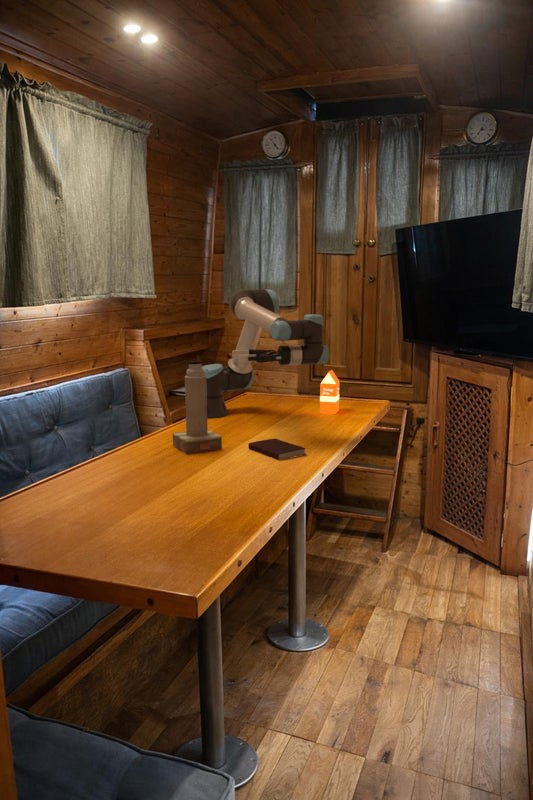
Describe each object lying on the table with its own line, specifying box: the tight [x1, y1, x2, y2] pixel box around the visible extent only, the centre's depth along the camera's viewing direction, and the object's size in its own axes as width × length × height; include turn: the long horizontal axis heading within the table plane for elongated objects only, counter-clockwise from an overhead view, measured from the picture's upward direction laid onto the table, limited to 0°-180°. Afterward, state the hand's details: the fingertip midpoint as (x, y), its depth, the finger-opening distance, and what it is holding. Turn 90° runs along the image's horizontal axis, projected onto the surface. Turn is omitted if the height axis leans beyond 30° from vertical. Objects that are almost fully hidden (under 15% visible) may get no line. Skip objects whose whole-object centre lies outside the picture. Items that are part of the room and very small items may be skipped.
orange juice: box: [319, 369, 340, 415], centre depth 309 cm, size 8×9×20 cm
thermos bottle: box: [184, 360, 209, 437], centre depth 243 cm, size 8×8×28 cm
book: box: [247, 438, 306, 461], centre depth 240 cm, size 12×19×3 cm, turn 35°
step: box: [172, 429, 223, 455], centre depth 246 cm, size 15×14×5 cm
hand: (235, 356), depth 249 cm, fingers open, 13 cm apart
